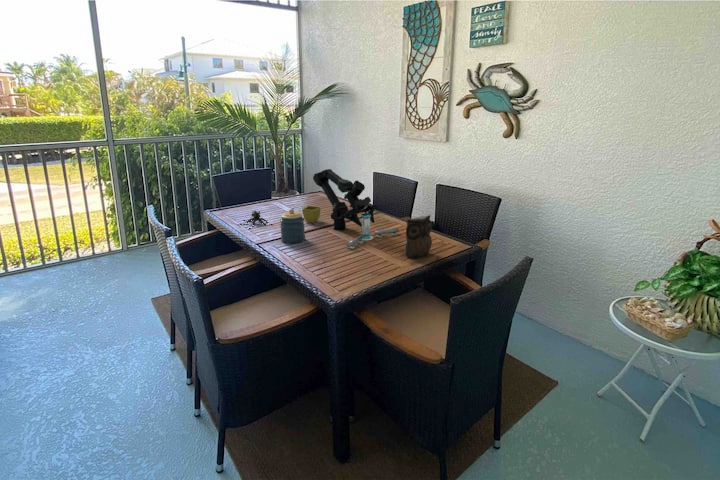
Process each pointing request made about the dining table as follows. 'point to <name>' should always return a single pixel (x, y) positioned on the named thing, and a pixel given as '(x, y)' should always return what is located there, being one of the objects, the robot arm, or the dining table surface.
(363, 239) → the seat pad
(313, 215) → the flower pot
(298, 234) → the canister
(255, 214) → the octopus toy
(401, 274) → the dining table surface
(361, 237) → the shaft
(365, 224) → the coupling
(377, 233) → the shaft
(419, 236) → the owl
